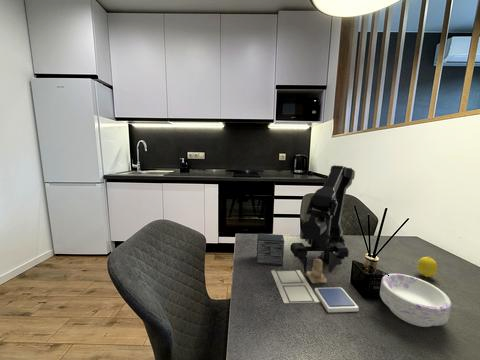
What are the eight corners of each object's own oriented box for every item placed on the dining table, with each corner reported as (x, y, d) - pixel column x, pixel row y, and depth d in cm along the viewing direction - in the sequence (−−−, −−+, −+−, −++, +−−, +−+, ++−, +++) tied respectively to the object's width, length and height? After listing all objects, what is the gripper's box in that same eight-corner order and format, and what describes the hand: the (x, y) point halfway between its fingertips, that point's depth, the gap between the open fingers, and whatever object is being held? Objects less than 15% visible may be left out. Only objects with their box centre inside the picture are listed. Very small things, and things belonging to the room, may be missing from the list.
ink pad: (341, 290, 71) (341, 286, 70) (358, 311, 62) (358, 306, 61) (314, 291, 70) (314, 287, 70) (328, 312, 61) (328, 307, 61)
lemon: (432, 275, 82) (435, 255, 80) (438, 283, 77) (441, 262, 75) (413, 271, 84) (417, 251, 83) (418, 278, 79) (421, 258, 78)
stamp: (319, 275, 79) (321, 257, 78) (326, 283, 74) (328, 264, 73) (306, 275, 79) (308, 257, 78) (312, 284, 74) (314, 264, 73)
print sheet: (299, 270, 82) (299, 269, 81) (320, 302, 65) (320, 301, 65) (271, 271, 81) (271, 270, 81) (284, 303, 64) (284, 302, 64)
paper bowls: (429, 346, 51) (435, 316, 50) (367, 304, 65) (370, 280, 64) (457, 324, 58) (462, 297, 57) (395, 290, 72) (398, 268, 71)
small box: (281, 258, 91) (283, 234, 89) (283, 266, 84) (284, 240, 83) (256, 256, 92) (257, 232, 90) (256, 264, 85) (257, 238, 84)
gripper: (334, 222, 83) (330, 260, 85) (287, 222, 81) (284, 260, 83) (352, 233, 72) (347, 277, 74) (297, 233, 70) (294, 278, 72)
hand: (316, 272), depth 76 cm, fingers open, 9 cm apart
